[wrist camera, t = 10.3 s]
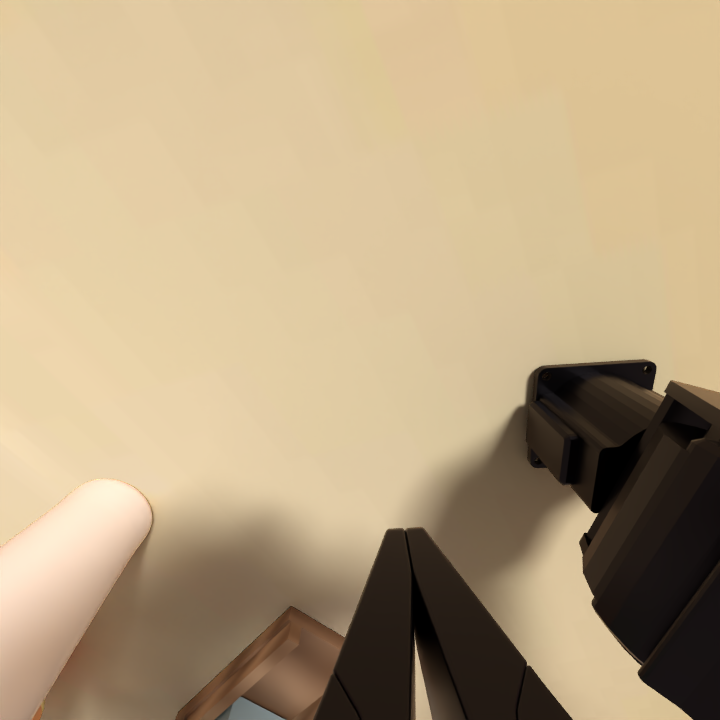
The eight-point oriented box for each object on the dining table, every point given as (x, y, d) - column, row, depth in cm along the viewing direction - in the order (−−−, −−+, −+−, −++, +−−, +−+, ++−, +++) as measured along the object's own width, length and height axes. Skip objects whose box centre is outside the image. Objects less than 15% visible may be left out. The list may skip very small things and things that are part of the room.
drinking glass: (179, 544, 25) (-65, 947, 11) (84, 551, 25) (-276, 955, 11) (150, 459, 23) (-199, 822, 9) (47, 469, 23) (-457, 836, 9)
